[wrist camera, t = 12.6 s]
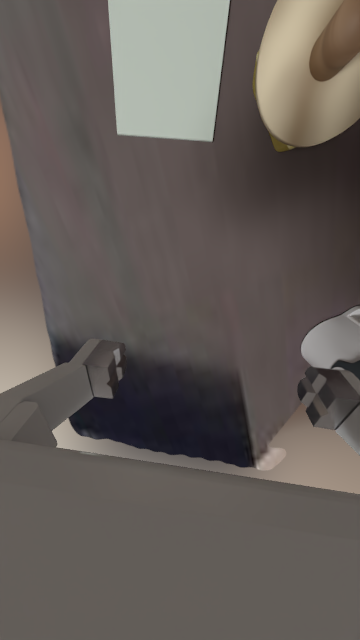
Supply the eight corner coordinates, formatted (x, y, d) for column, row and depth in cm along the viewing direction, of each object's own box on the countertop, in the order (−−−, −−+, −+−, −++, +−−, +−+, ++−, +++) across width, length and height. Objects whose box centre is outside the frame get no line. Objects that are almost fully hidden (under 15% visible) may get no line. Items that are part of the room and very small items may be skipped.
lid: (443, -61, 14) (561, -191, 10) (355, 150, 20) (400, 134, 16) (278, -62, 15) (313, -184, 10) (242, 144, 21) (253, 126, 16)
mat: (229, 0, 22) (230, -4, 21) (212, 142, 28) (212, 141, 27) (109, -5, 22) (107, -9, 22) (118, 135, 29) (117, 134, 28)
